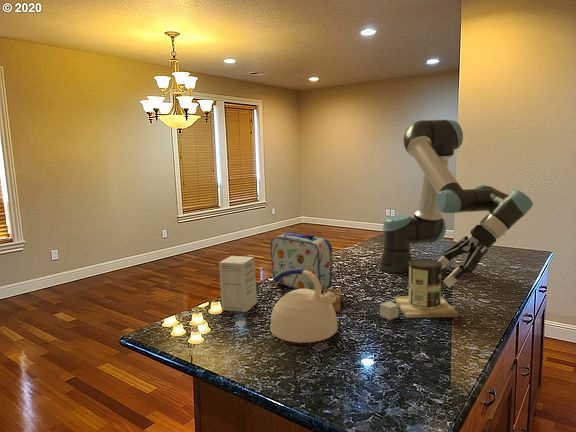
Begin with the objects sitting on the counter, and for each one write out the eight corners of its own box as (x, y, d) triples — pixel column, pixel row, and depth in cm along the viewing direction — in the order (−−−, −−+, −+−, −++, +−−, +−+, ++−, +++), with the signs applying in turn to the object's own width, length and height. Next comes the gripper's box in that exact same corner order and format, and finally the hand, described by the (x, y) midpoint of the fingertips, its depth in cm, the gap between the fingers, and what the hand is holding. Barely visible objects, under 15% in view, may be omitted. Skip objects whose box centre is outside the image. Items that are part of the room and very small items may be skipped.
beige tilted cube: (379, 316, 129) (380, 304, 128) (388, 313, 131) (388, 301, 130) (389, 320, 125) (389, 307, 125) (398, 317, 127) (398, 304, 127)
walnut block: (320, 308, 137) (320, 294, 136) (334, 306, 138) (333, 292, 137) (326, 313, 132) (326, 298, 131) (340, 311, 133) (340, 296, 133)
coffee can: (438, 299, 138) (439, 259, 136) (442, 310, 128) (444, 267, 126) (406, 297, 140) (407, 258, 138) (409, 308, 130) (409, 266, 128)
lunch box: (339, 291, 152) (338, 234, 149) (322, 298, 145) (321, 238, 142) (286, 277, 171) (284, 226, 168) (268, 284, 164) (266, 230, 160)
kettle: (319, 350, 108) (317, 284, 105) (256, 333, 118) (253, 274, 116) (349, 322, 124) (349, 265, 122) (292, 310, 135) (290, 257, 133)
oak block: (323, 299, 145) (323, 288, 144) (340, 300, 144) (340, 289, 143) (322, 304, 140) (322, 293, 139) (340, 305, 139) (340, 294, 138)
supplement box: (257, 303, 143) (255, 256, 140) (246, 312, 134) (244, 263, 131) (233, 300, 146) (230, 255, 143) (220, 310, 137) (218, 261, 135)
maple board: (394, 299, 142) (394, 296, 142) (440, 298, 142) (440, 295, 142) (406, 317, 126) (406, 314, 126) (458, 316, 126) (458, 313, 126)
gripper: (515, 248, 117) (461, 299, 120) (479, 232, 142) (435, 274, 145) (497, 231, 116) (443, 282, 119) (464, 217, 141) (420, 260, 144)
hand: (438, 278), depth 132 cm, fingers open, 13 cm apart
